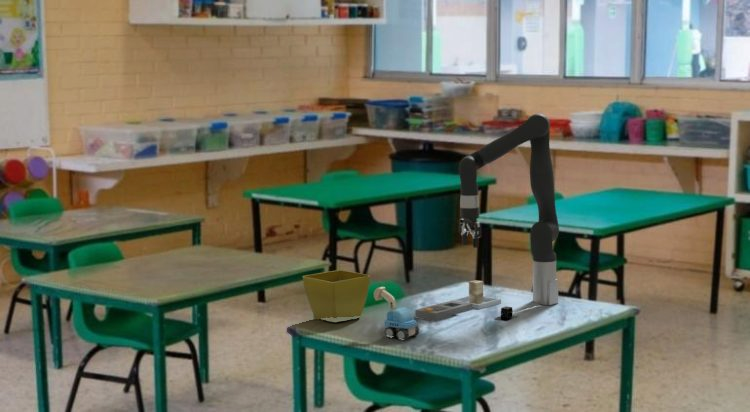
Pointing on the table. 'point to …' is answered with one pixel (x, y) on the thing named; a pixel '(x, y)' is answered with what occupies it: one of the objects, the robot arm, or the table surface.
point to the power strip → (442, 310)
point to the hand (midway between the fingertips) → (470, 246)
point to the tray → (486, 303)
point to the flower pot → (336, 293)
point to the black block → (506, 314)
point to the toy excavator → (397, 317)
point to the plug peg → (476, 292)
